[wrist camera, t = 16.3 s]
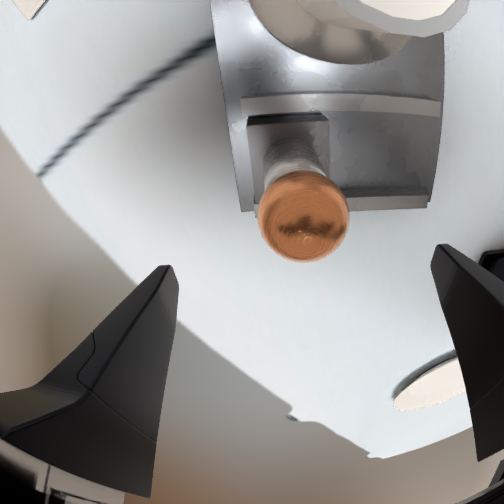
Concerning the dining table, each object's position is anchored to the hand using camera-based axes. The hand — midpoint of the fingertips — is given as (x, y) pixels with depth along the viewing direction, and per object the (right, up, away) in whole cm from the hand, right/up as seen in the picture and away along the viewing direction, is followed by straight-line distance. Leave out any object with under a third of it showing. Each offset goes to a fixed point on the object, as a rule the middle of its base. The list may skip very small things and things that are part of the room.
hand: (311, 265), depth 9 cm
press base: (+3, +12, +5) cm, 14 cm away
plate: (+32, -21, +32) cm, 50 cm away
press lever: (0, +6, +8) cm, 10 cm away
